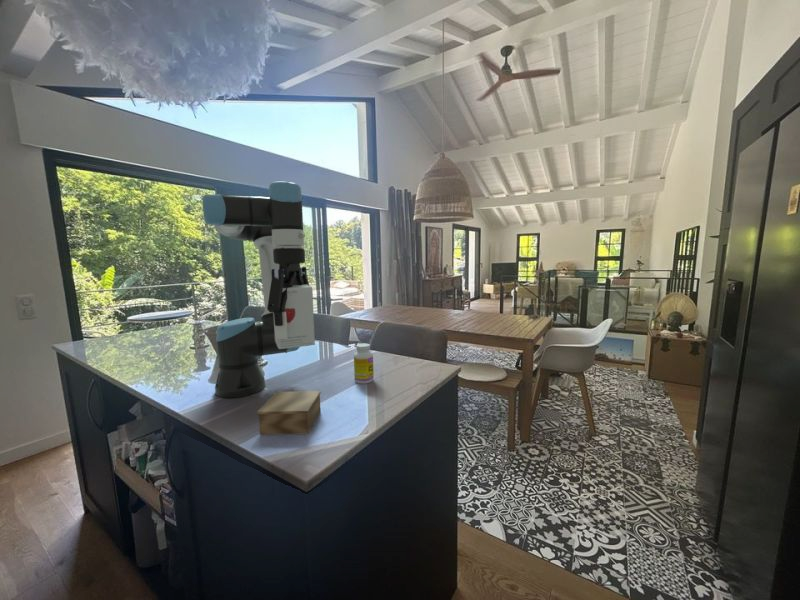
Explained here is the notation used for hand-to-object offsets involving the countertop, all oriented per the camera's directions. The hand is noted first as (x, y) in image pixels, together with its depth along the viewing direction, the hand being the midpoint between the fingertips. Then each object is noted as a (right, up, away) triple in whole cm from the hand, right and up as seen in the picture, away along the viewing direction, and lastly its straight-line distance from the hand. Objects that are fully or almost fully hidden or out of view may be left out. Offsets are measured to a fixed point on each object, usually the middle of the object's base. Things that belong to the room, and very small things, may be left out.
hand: (293, 332), depth 87 cm
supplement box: (0, -3, 0) cm, 3 cm away
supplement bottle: (+15, -20, +31) cm, 40 cm away
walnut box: (-1, -24, +2) cm, 24 cm away
